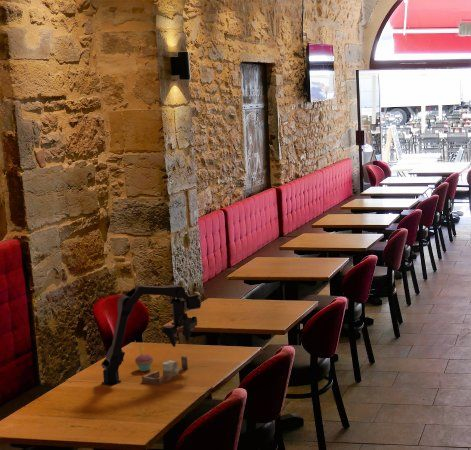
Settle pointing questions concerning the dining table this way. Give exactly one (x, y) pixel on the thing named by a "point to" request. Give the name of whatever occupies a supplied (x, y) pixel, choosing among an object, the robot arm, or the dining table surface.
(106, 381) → the robot arm
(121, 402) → the dining table surface
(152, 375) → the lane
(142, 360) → the cupcake
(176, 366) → the block with cord
